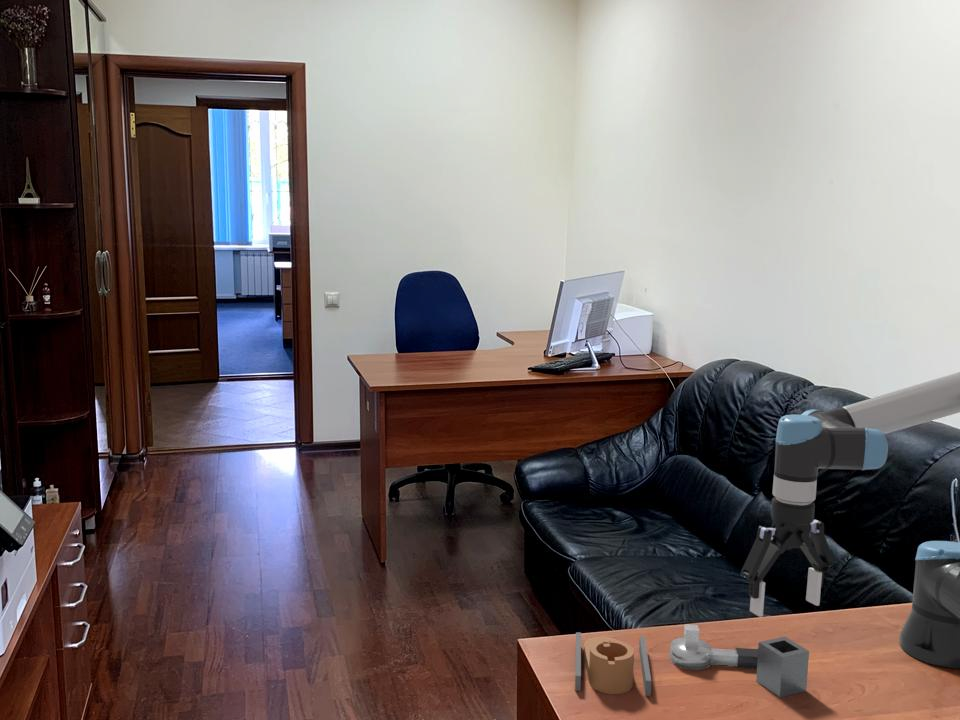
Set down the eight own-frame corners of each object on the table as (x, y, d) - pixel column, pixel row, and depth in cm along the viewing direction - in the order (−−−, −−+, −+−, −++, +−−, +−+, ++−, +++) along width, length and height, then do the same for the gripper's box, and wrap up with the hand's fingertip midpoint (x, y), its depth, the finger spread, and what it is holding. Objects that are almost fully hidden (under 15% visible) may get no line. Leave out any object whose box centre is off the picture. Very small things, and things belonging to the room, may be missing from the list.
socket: (782, 675, 171) (784, 636, 170) (806, 690, 166) (809, 651, 164) (756, 681, 169) (758, 642, 168) (779, 697, 163) (782, 657, 162)
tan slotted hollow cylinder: (635, 695, 164) (637, 660, 163) (591, 694, 164) (592, 659, 163) (622, 649, 181) (623, 617, 180) (581, 648, 182) (582, 617, 181)
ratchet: (772, 656, 179) (775, 624, 178) (781, 676, 171) (783, 642, 170) (668, 649, 181) (669, 617, 180) (672, 668, 173) (673, 635, 172)
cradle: (643, 650, 181) (644, 636, 180) (650, 695, 163) (651, 680, 163) (575, 645, 182) (576, 632, 182) (575, 690, 165) (575, 675, 164)
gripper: (829, 486, 170) (820, 590, 173) (725, 500, 160) (718, 610, 163) (859, 498, 163) (850, 606, 166) (753, 512, 153) (745, 627, 156)
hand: (784, 608), depth 165 cm, fingers open, 13 cm apart
